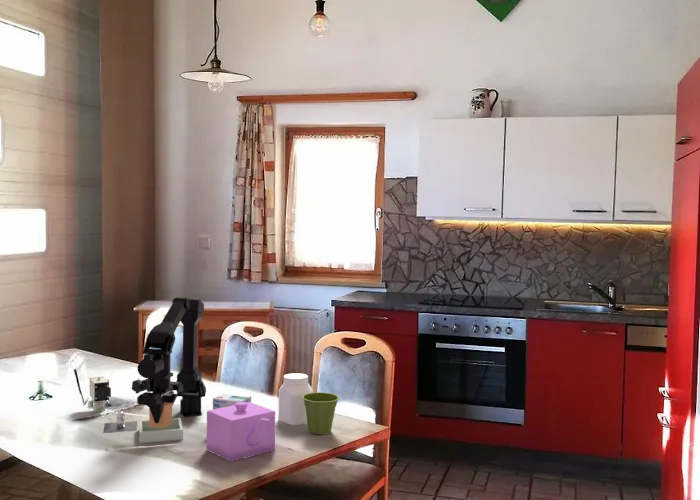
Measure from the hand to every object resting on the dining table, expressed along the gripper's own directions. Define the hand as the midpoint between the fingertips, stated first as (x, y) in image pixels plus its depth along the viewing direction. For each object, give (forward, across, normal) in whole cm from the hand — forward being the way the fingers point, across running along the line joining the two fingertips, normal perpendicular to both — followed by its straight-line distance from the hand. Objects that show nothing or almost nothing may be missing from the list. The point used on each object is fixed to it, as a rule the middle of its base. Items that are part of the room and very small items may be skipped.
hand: (160, 420), depth 220 cm
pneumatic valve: (+5, -19, -33) cm, 38 cm away
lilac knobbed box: (+5, +5, +29) cm, 30 cm away
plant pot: (+5, -18, +46) cm, 50 cm away
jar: (+5, -28, +35) cm, 45 cm away
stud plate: (+5, -4, -16) cm, 17 cm away
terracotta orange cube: (+1, 0, 0) cm, 1 cm away
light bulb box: (+5, -12, +19) cm, 23 cm away
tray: (+5, 0, 0) cm, 5 cm away
